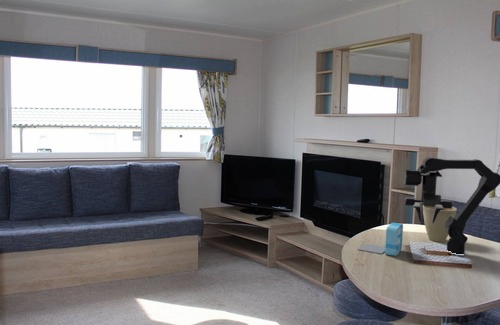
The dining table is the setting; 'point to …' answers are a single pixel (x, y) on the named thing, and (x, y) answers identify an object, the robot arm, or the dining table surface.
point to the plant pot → (437, 222)
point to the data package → (393, 239)
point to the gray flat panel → (372, 248)
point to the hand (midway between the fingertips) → (426, 222)
